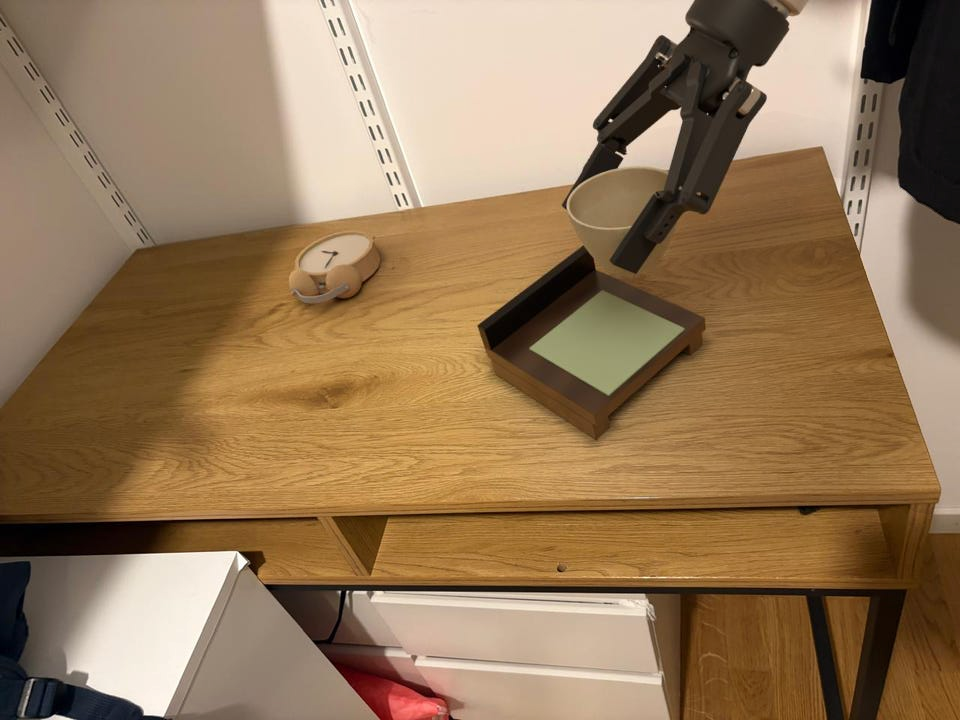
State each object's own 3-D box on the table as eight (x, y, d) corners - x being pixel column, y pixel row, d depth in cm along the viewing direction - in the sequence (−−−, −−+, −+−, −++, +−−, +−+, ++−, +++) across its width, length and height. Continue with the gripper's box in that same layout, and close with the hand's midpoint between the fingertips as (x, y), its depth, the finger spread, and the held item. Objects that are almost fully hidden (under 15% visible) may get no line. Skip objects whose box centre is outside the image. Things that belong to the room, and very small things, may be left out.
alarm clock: (384, 225, 104) (345, 276, 92) (393, 257, 106) (357, 310, 95) (313, 233, 107) (266, 283, 95) (324, 264, 110) (280, 316, 98)
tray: (707, 346, 76) (703, 294, 71) (600, 442, 70) (589, 392, 66) (593, 293, 87) (584, 244, 82) (492, 372, 81) (476, 325, 77)
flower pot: (662, 303, 65) (654, 235, 60) (561, 285, 70) (546, 221, 65) (703, 236, 70) (699, 169, 65) (606, 224, 75) (596, 161, 70)
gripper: (881, 60, 51) (688, 317, 61) (708, -11, 68) (578, 198, 77) (816, 9, 47) (621, 291, 57) (650, -53, 64) (521, 172, 74)
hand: (596, 237), depth 67 cm, fingers closed on flower pot, 10 cm apart
